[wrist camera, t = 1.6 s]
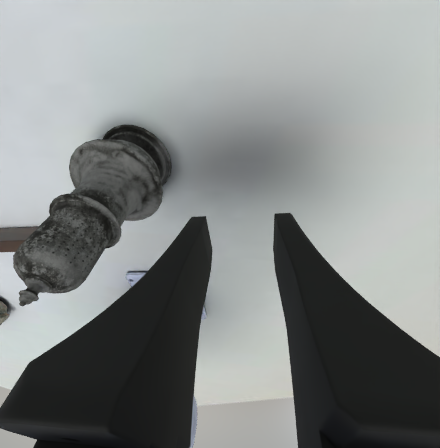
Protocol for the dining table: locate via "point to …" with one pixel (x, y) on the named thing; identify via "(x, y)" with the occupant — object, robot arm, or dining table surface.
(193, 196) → the dining table surface
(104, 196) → the salt shaker
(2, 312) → the elongated rock
